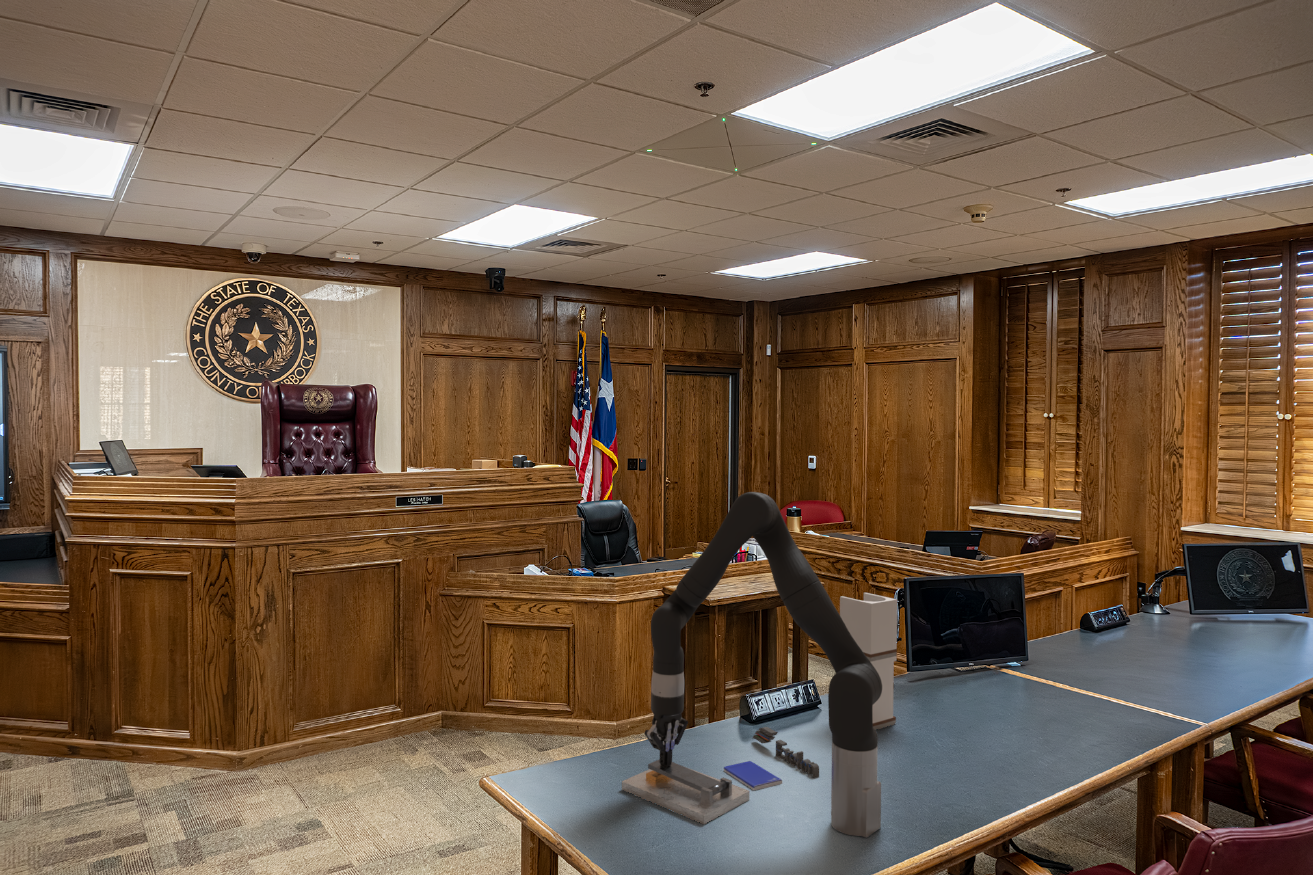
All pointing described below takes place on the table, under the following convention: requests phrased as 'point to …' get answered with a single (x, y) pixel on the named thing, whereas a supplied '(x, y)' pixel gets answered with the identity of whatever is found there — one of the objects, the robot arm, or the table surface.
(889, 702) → the tall open-top box
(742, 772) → the hard drive
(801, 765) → the extruded letter logo
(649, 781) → the mounting plate
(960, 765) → the table surface
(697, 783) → the flat pivoting pedal
